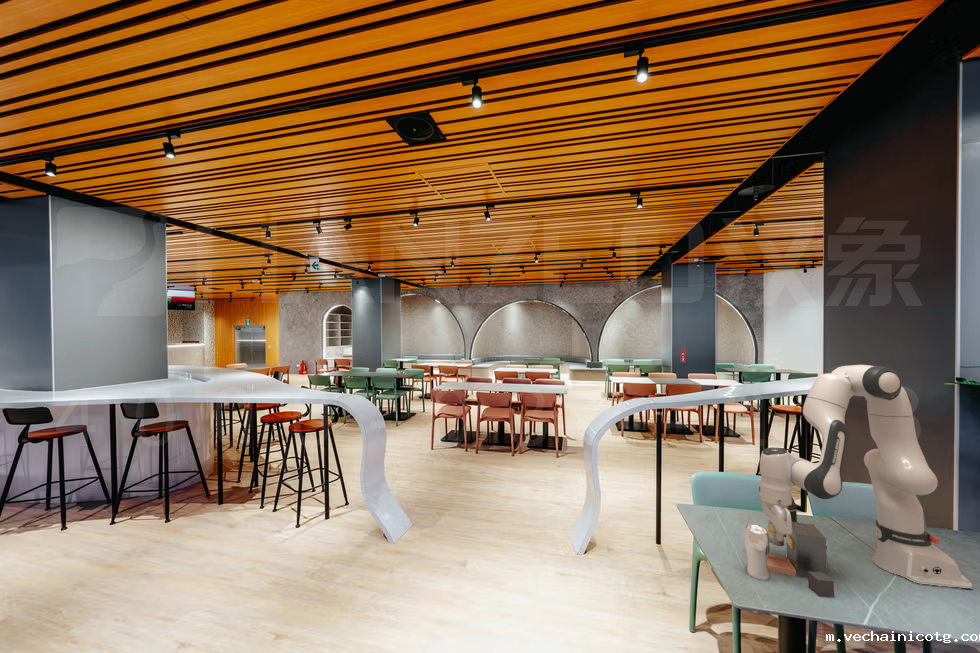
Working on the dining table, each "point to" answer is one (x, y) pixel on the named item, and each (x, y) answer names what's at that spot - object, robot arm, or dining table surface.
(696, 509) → the dining table surface
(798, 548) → the dark grey block
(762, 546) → the beer glass
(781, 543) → the cylinder
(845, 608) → the dining table surface
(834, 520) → the dining table surface
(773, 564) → the tray
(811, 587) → the rubber block
